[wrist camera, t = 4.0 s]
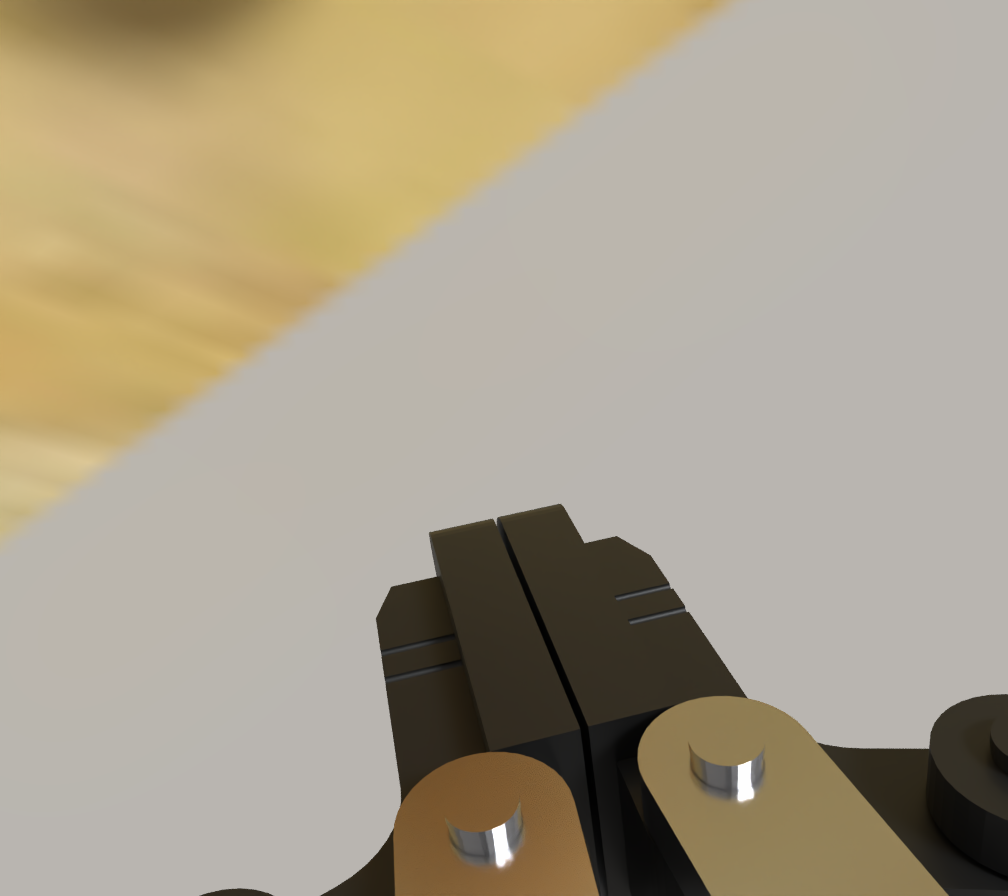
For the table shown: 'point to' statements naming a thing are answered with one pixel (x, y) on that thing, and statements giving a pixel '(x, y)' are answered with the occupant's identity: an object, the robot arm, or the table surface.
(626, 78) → the table surface
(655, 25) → the table surface
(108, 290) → the table surface
